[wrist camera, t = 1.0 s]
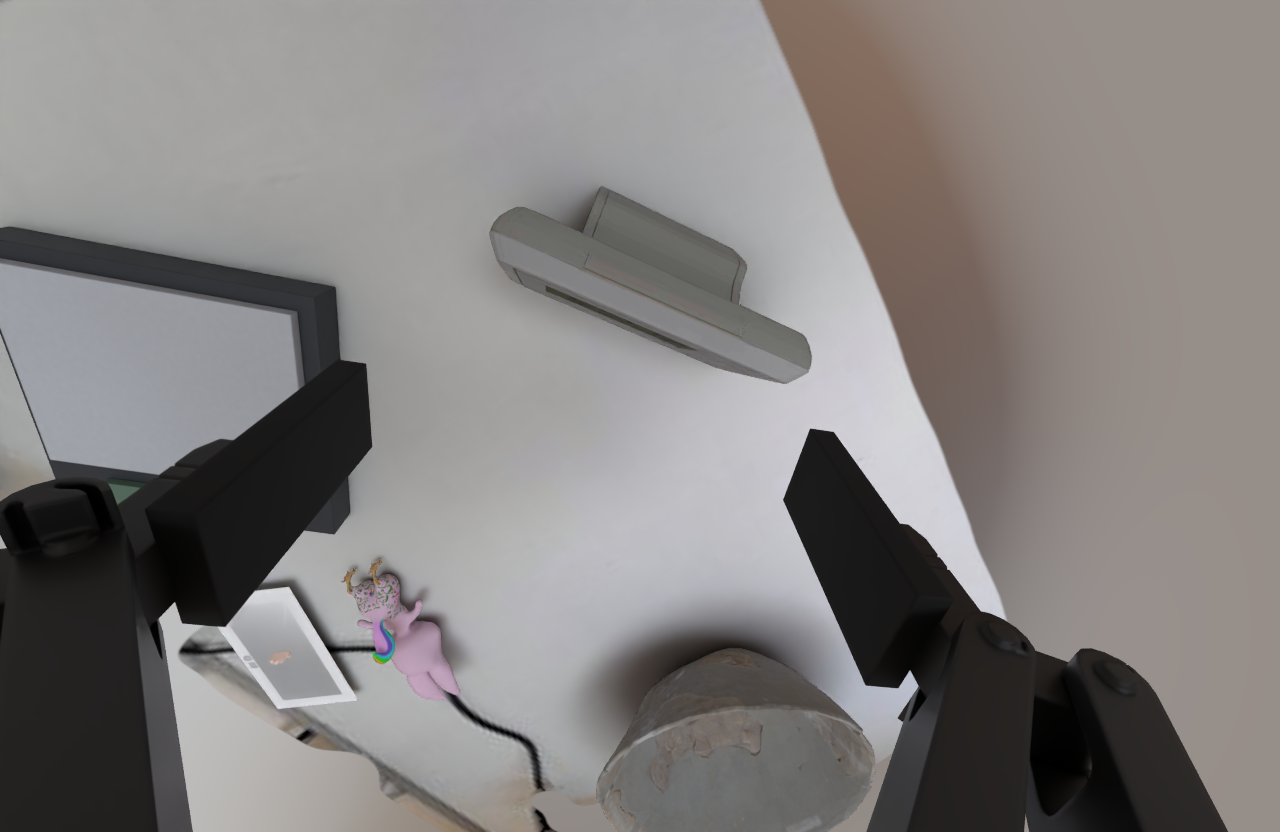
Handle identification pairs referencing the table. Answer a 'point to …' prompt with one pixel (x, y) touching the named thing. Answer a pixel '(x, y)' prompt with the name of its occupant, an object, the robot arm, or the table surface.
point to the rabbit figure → (403, 636)
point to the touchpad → (285, 651)
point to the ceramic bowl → (736, 753)
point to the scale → (154, 354)
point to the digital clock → (650, 284)
